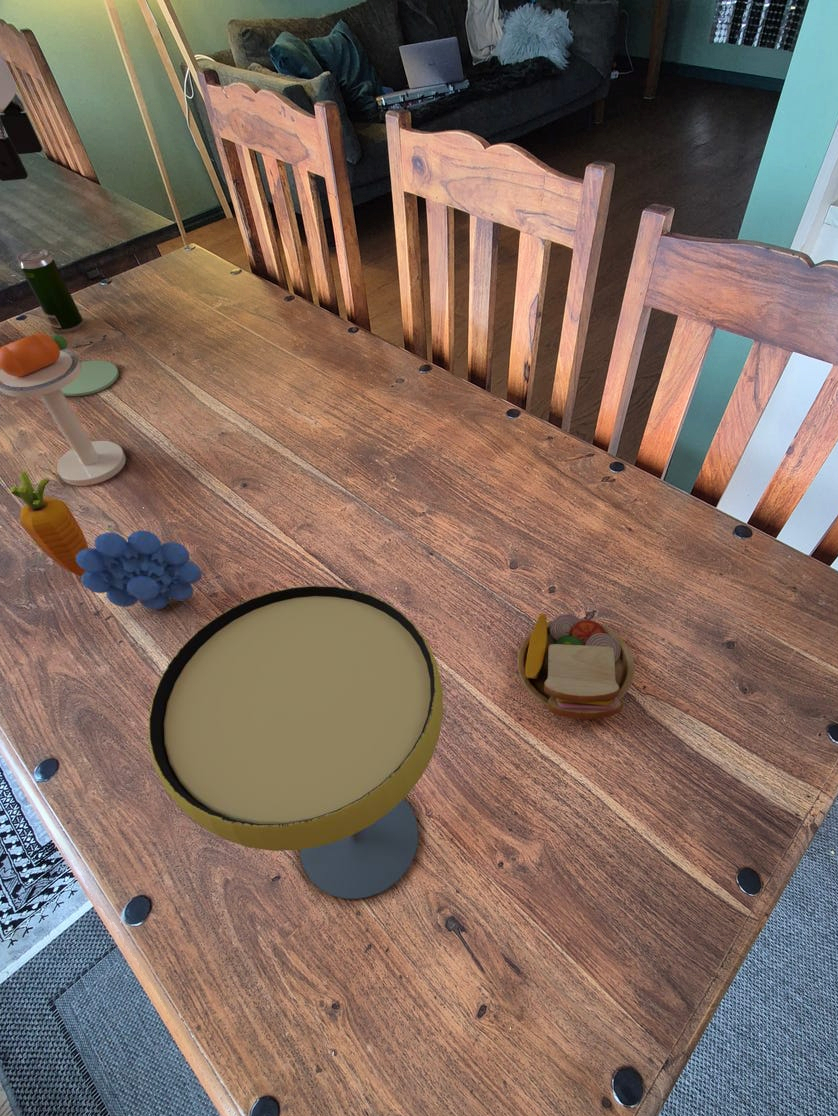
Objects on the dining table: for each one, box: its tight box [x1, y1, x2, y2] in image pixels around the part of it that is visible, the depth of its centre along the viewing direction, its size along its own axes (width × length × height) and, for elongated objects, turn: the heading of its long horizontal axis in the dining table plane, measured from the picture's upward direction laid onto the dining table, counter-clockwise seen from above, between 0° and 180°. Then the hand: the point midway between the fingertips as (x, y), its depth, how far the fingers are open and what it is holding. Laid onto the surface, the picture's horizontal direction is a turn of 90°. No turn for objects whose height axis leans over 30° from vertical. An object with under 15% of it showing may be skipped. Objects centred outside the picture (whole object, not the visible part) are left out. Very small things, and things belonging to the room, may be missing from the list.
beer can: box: [16, 248, 84, 334], centre depth 115 cm, size 5×5×12 cm
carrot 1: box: [0, 332, 68, 377], centre depth 82 cm, size 8×4×4 cm, turn 138°
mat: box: [61, 359, 120, 397], centre depth 108 cm, size 10×10×1 cm
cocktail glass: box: [147, 585, 444, 900], centre depth 51 cm, size 18×18×25 cm
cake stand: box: [0, 348, 127, 487], centre depth 89 cm, size 10×10×15 cm
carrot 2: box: [10, 471, 89, 577], centre depth 75 cm, size 5×5×15 cm
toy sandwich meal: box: [516, 613, 635, 720], centre depth 70 cm, size 12×14×5 cm
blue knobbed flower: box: [76, 529, 202, 611], centre depth 73 cm, size 12×7×12 cm, turn 112°
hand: (22, 165), depth 82 cm, fingers open, 9 cm apart
